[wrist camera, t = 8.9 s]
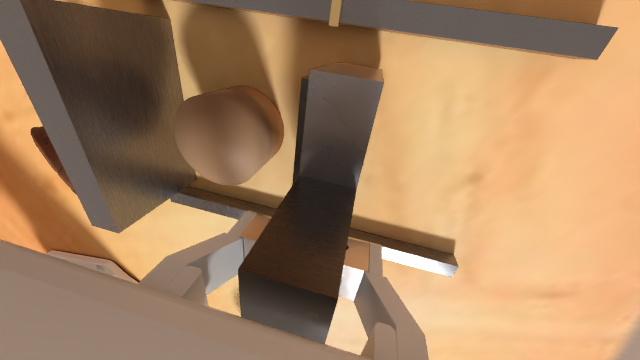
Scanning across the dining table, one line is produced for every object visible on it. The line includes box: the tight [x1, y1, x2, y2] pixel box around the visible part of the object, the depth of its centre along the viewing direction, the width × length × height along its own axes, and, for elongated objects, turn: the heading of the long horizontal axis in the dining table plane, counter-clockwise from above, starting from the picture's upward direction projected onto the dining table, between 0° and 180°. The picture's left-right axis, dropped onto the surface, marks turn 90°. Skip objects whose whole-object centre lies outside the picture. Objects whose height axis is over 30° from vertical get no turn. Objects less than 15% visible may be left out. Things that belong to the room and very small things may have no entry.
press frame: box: [0, 0, 618, 277], centre depth 17 cm, size 31×21×9 cm
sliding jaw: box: [238, 62, 384, 344], centre depth 13 cm, size 4×13×14 cm, turn 173°
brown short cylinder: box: [173, 86, 284, 186], centre depth 19 cm, size 7×7×5 cm
